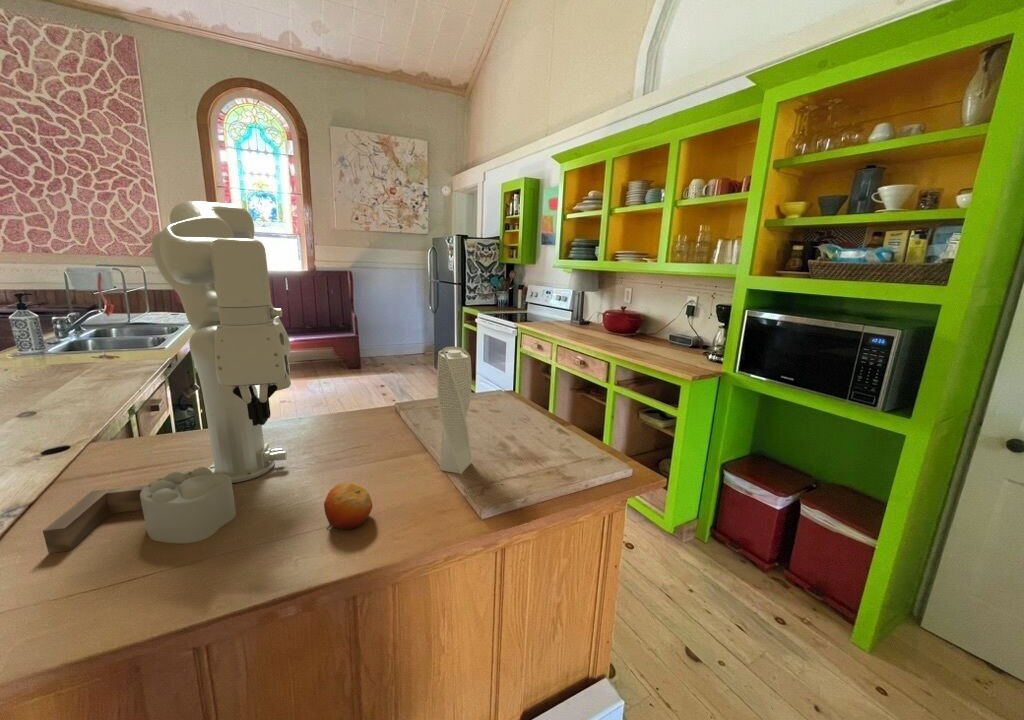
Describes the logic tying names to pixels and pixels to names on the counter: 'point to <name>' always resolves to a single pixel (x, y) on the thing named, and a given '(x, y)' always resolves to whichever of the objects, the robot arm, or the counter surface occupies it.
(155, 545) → the counter surface
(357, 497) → the fruit
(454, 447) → the skyscraper
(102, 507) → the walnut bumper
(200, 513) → the lumpy-topped squat cylinder
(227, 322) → the robot arm
